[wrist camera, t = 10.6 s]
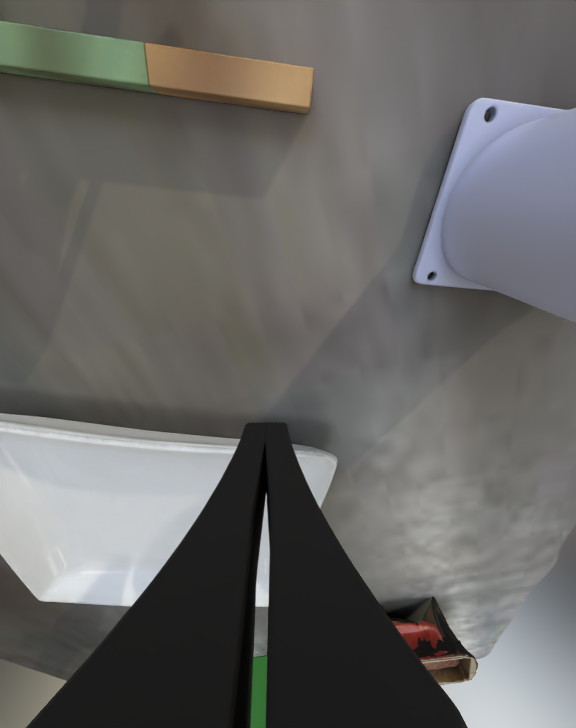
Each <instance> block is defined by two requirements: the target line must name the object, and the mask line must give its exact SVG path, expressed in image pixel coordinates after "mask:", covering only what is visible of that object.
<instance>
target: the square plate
mask: <svg viewBox="0 0 576 728" xmlns="http://www.w3.org/2000/svg"><path fill="white" fill-rule="evenodd" d="M239 441H240V439H233V438H221V437H210V436H200V435H189V434H179V433H168V432H158V431H148V430H140V429H132V428H124V427H116V426H108V425H101V424H93V423H86V422H78V421H70V420H62V419H54V418H46V417H37V416H26V415H14V414H2V413H0V554H1V555H2V557H3V558H4V559H5V561H6V562H7V563H8V564H9V566H10V567H11V568H12V569H13V571H14V572H15V573H16V574H17V576H18V577H19V578H20V579H21V580H22V582H23V583H24V584H25V585H26V586H27V588H28V589H29V590H30V591H31V592H32V594H33V595H34V596H35V597H36V598H37V599H38V600H40V601H45V602H67V603H84V604H99V605H117V606H132V605H133V604H134V603H135V601H136V600H137V599H138V598H139V596H140V595H141V594H142V593H143V592H144V590H145V589H146V588H147V587H148V585H149V584H150V583H151V581H152V580H153V579H154V577H155V576H156V575H157V574H158V572H159V571H160V570H161V568H162V567H163V566H164V564H165V563H166V561H167V560H168V559H169V557H170V556H171V555H172V553H173V552H174V551H175V549H176V548H177V547H178V545H179V544H180V542H181V541H182V540H183V538H184V537H185V535H186V534H187V532H188V531H189V529H190V528H191V526H192V525H193V523H194V522H195V520H196V519H197V517H198V516H199V514H200V513H201V511H202V510H203V508H204V506H205V505H206V503H207V502H208V500H209V498H210V496H211V495H212V493H213V491H214V490H215V488H216V486H217V485H218V483H219V481H220V480H221V478H222V476H223V474H224V472H225V470H226V468H227V466H228V464H229V462H230V461H231V459H232V457H233V455H234V452H235V450H236V448H237V446H238V444H239ZM292 446H293V449H294V452H295V455H296V457H297V460H298V462H299V465H300V467H301V469H302V472H303V474H304V476H305V479H306V481H307V483H308V485H309V487H310V490H311V492H312V494H313V496H314V498H315V500H316V502H317V504H318V506H319V508H321V506H322V503H323V501H324V499H325V496H326V494H327V491H328V489H329V486H330V484H331V481H332V479H333V476H334V473H335V470H336V467H337V464H338V459H337V458H336V456H335V455H333V454H332V453H329V452H325V451H323V450H320V449H317V448H314V447H310V446H303V445H297V444H292ZM269 561H270V547H269V530H268V513H267V496H266V499H265V508H264V516H263V525H262V533H261V542H260V551H259V559H258V569H257V581H256V603H255V606H263V607H268V606H269Z"/></svg>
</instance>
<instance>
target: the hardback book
mask: <svg viewBox="0 0 576 728" xmlns="http://www.w3.org/2000/svg"><path fill="white" fill-rule="evenodd" d="M266 689H267V656H262V657H254V658H253V677H252V704H251V728H266Z"/></svg>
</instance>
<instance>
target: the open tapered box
mask: <svg viewBox="0 0 576 728" xmlns="http://www.w3.org/2000/svg"><path fill="white" fill-rule="evenodd" d="M390 620H391V621H392V622H393V624H394V625H395V627H396V628H397V629H398V631H399V632H400V633H401V635H402V636H403V638H404V639H405V640H406V642H407V643H408V644H409V646H410V647H411V648H412V650H413V651H414V652H415V654H416V655H417V656H418V658H419V659H420V660H421V662H422V663H423V664H424V666H425V667H426V668H427V670H428V671H429V672H430V673H431V675H432V676H433V677H434V679H435V680H436V681H437V682H438V684H439V685H445V684H451V683H460V682H464V681H469V680H472V678H473V677H474V675H475V674H476V670H477V667H478V663H477V661H476V659H475V657H474V656H473V655H472V654H471V653H469V652H468V651H467V650H466V649H465V648H464V647H463V646H462V644H461V642H460V641H458V639H457V638H456V636H455V635H454V633H453V632H452V630H451V629H450V627H449V626H448V624H447V621H446V619H445V617H444V615H443V613H442V611H441V609H440V607H439V605H438V603H437V601H436V599H435V598H434V597H432V600H431V602H430V605H429V607H428V610H427V611H426V613H425V615H424V616H423V618H422V620H421V622H420V623H419V624H417V623H415V622H412V621H408V620H404V619H400V618H390Z"/></svg>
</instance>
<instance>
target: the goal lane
mask: <svg viewBox="0 0 576 728" xmlns="http://www.w3.org/2000/svg"><path fill="white" fill-rule="evenodd" d="M0 72H2V73H6V72H7V73H10V74H17V75H24V76H32V77H39V78H46V79H54V80H61V81H68V82H76V83H83V84H90V85H98V86H105V87H112V88H119V89H127V90H134V91H141V92H149V93H159V94H163V95H170V96H178V97H185V98H192V99H199V100H207V101H214V102H221V103H229V104H236V105H243V106H251V107H258V108H265V109H273V110H280V111H287V112H294V113H302V114H308V111H309V108H310V104H311V94H312V84H313V74H314V69H313V68H310V67H303V66H297V65H290V64H283V63H277V62H270V61H264V60H257V59H250V58H244V57H237V56H231V55H224V54H217V53H211V52H204V51H198V50H191V49H184V48H178V47H171V46H164V45H158V44H151V43H145V44H144V43H143V42H138V41H131V40H124V39H118V38H111V37H104V36H98V35H91V34H85V33H78V32H71V31H65V30H58V29H52V28H45V27H38V26H32V25H25V24H19V23H12V22H5V21H0Z"/></svg>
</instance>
